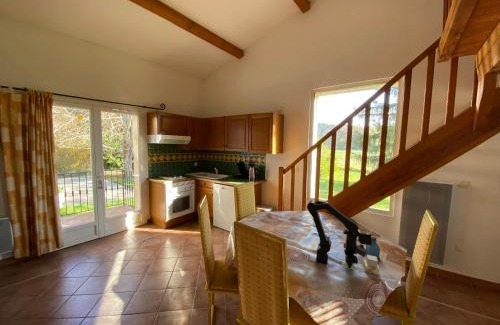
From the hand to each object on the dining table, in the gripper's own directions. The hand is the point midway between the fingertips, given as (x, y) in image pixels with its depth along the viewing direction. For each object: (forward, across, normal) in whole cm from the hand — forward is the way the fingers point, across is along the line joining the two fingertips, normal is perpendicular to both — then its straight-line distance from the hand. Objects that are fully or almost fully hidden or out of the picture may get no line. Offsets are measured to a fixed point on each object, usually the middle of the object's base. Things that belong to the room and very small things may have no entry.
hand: (349, 265), depth 129 cm
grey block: (-3, +2, -12) cm, 13 cm away
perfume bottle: (+1, +21, -16) cm, 26 cm away
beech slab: (+1, +2, -12) cm, 12 cm away
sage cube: (+1, 0, 0) cm, 1 cm away
